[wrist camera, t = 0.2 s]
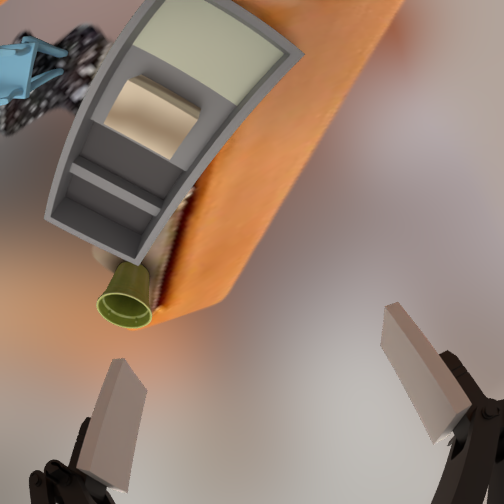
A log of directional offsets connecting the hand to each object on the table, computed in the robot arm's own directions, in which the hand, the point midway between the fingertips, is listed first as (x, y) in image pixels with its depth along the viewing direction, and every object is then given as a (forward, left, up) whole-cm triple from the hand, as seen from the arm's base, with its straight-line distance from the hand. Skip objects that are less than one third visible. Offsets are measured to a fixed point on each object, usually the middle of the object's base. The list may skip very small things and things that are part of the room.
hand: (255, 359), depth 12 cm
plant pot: (+28, -1, -28) cm, 39 cm away
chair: (+2, -29, -28) cm, 40 cm away
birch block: (0, -10, -25) cm, 27 cm away
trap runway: (+3, -10, -27) cm, 29 cm away
